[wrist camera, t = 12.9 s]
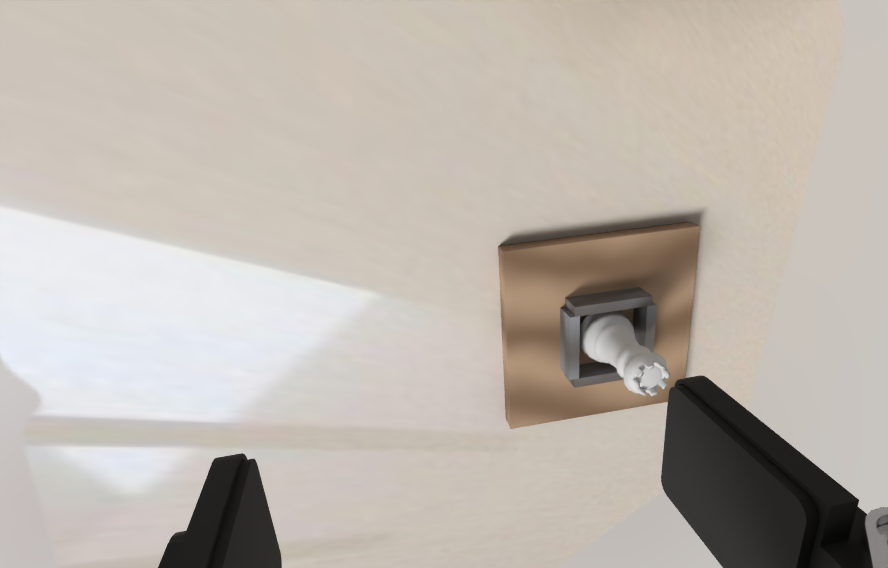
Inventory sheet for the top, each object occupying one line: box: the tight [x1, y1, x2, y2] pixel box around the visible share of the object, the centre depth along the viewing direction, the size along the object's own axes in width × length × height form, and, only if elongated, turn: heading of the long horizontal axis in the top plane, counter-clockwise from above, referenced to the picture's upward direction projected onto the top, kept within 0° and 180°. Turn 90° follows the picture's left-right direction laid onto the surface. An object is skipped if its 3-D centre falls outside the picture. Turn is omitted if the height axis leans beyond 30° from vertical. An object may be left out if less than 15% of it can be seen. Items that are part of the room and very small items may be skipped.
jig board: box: [498, 222, 700, 429], centre depth 42 cm, size 16×16×4 cm
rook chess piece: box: [580, 311, 670, 396], centre depth 39 cm, size 4×4×8 cm
